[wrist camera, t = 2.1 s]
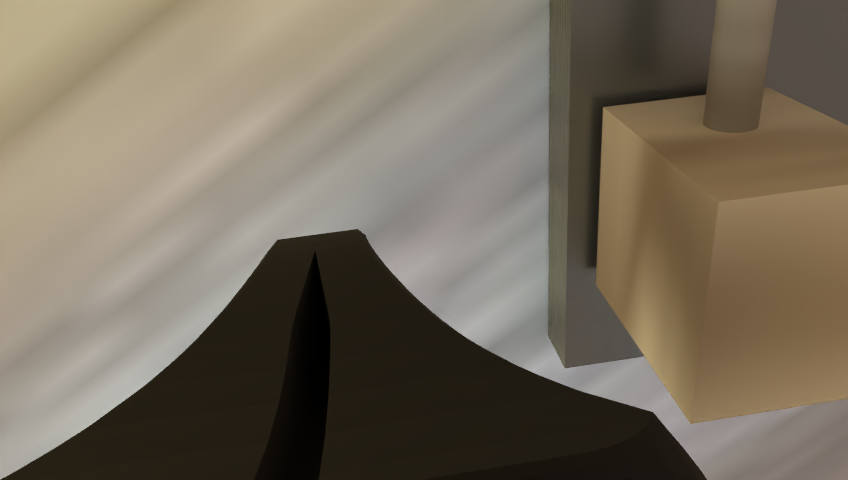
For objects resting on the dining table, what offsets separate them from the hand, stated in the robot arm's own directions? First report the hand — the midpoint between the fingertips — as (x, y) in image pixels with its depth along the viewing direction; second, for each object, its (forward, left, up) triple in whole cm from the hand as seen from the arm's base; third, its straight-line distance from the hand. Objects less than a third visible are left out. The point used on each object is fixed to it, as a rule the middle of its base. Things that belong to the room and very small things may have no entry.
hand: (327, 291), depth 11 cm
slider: (+3, -7, -2) cm, 7 cm away
